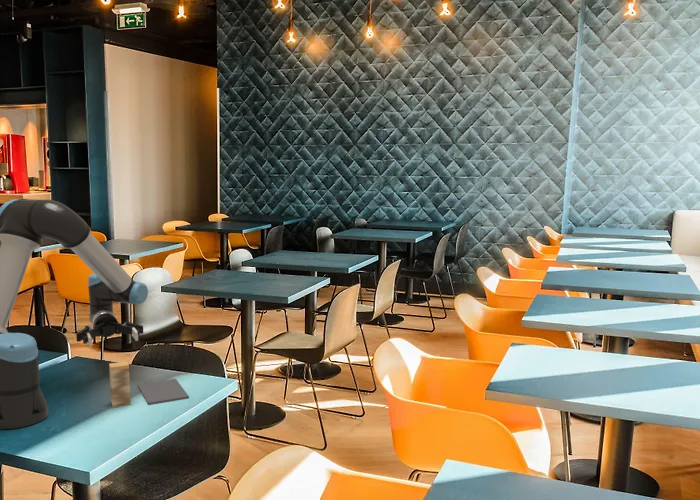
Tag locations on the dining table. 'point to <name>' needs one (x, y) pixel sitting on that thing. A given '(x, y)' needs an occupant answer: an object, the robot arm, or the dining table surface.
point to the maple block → (119, 384)
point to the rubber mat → (162, 391)
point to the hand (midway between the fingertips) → (114, 339)
